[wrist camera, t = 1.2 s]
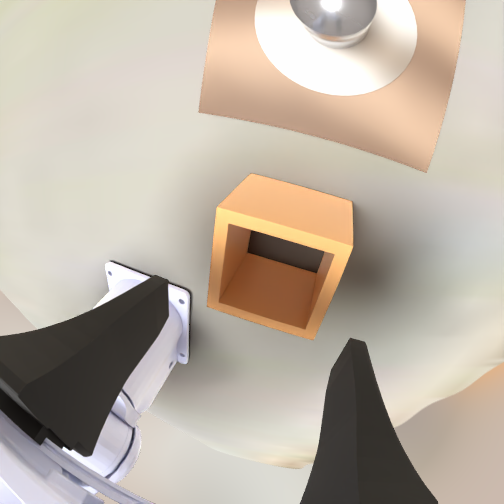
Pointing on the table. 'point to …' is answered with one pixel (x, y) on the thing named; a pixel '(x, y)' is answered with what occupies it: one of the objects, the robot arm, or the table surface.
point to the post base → (338, 75)
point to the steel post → (336, 20)
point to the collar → (272, 272)
